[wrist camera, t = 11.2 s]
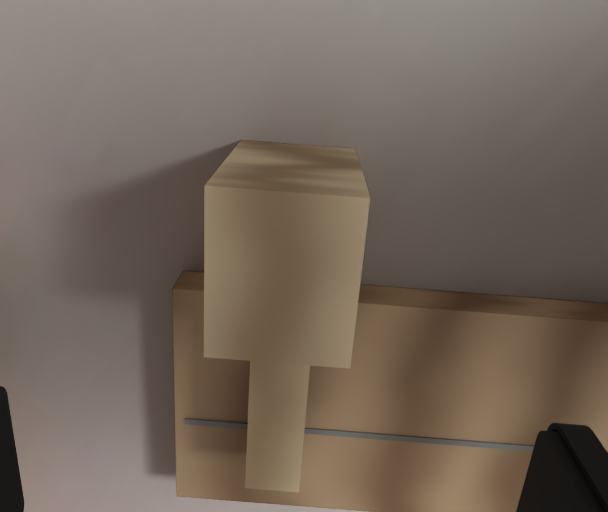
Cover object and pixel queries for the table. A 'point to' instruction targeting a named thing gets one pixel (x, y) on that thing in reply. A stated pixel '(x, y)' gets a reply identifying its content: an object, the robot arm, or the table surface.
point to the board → (403, 401)
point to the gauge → (282, 284)
